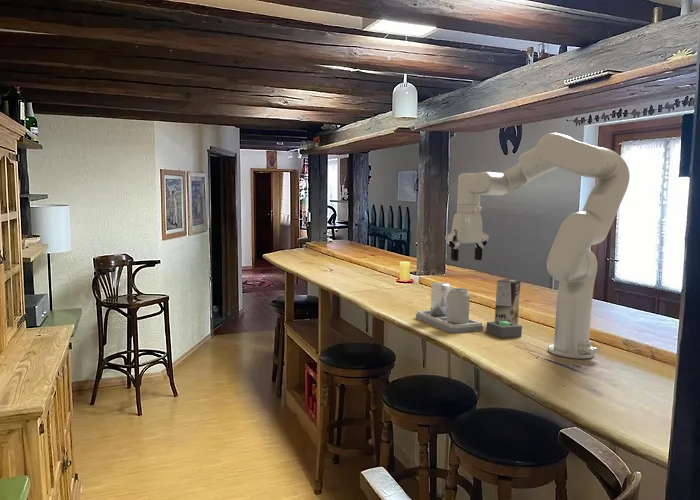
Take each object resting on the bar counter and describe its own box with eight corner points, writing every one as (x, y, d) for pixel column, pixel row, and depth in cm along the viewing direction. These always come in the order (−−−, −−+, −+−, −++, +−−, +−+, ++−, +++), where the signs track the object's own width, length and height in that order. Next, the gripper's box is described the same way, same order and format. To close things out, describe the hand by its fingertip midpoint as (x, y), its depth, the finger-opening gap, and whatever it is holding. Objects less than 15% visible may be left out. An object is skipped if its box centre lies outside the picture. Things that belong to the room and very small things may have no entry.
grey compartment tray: (482, 330, 183) (483, 323, 183) (450, 333, 178) (451, 325, 177) (445, 316, 204) (445, 309, 204) (415, 318, 199) (416, 311, 198)
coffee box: (511, 327, 188) (514, 282, 187) (493, 325, 191) (496, 280, 190) (518, 323, 196) (521, 279, 194) (500, 320, 199) (503, 277, 198)
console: (521, 336, 176) (522, 326, 176) (501, 338, 173) (502, 327, 173) (505, 330, 184) (505, 320, 183) (486, 332, 180) (486, 322, 180)
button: (511, 331, 177) (511, 322, 177) (503, 332, 176) (503, 323, 176) (504, 329, 180) (505, 320, 180) (496, 330, 179) (496, 321, 179)
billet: (452, 317, 194) (454, 285, 193) (436, 318, 191) (438, 285, 190) (442, 313, 200) (444, 282, 199) (426, 314, 197) (428, 282, 196)
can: (467, 321, 189) (468, 287, 188) (470, 326, 181) (471, 291, 180) (445, 320, 190) (447, 286, 188) (447, 325, 182) (449, 290, 181)
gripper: (482, 210, 188) (480, 258, 190) (440, 209, 181) (438, 259, 183) (496, 210, 181) (494, 260, 183) (453, 209, 174) (451, 262, 176)
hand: (466, 260), depth 183 cm, fingers open, 9 cm apart
